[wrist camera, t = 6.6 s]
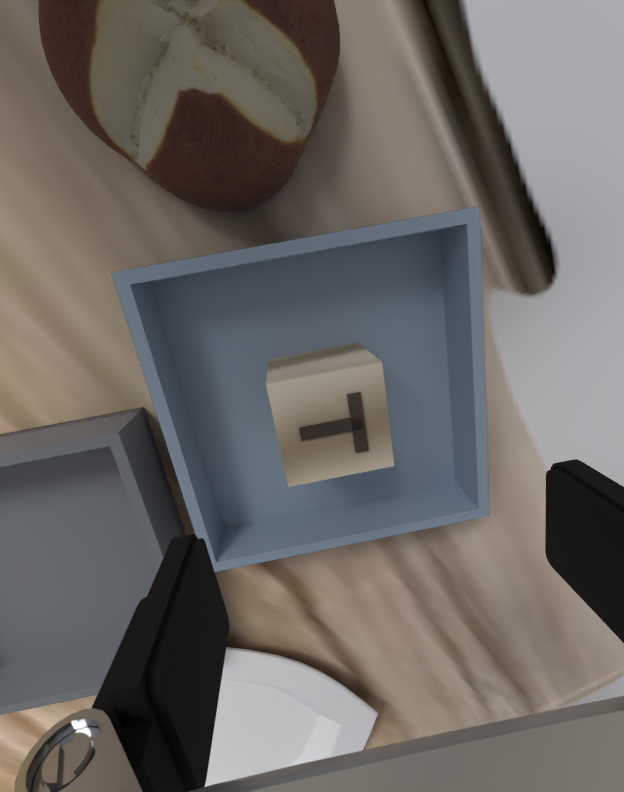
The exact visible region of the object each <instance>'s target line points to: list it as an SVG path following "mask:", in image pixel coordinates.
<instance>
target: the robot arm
mask: <svg viewBox="0 0 624 792" xmlns="http://www.w3.org/2000/svg"><path fill="white" fill-rule="evenodd" d="M546 557H547V559H548V561H549V563H550V565H551V566H552V567H553V568H554V570H555V571H556V572H557V573H558V574H559V575H560V576H561V577H562V578H563V579H564V580H565V581H566V582H567V583H568V584H569V585H570V586H571V588H572V589H573V590H574V591H575V592H576V593H577V594H578V595H579V596H580V597H581V598H582V599H583V600H584V601H585V602H586V603H587V605H588V606H589V607H590V608H591V609H592V610H593V611H594V612H595V613H596V614H597V615H598V616H599V617H600V618H601V619H602V620H603V621H604V623H605V624H606V625H607V626H608V627H609V628H610V629H611V630H612V631H613V632H614V633H615V634H616V635H617V636H618V637H619V638H620V640H621V641H622V642H623V643H624V487H623V486H621V485H619V484H618V483H616V482H614V481H613V480H611V479H609V478H608V477H606V476H605V475H603V474H601V473H600V472H598V471H596V470H594V469H593V468H591V467H590V466H588V465H586V464H585V463H583V462H581V461H579V460H570V461H565V462H559V463H555V464H553V465H552V467H551V470H549V471H547V473H546ZM228 633H229V620H228V615H227V612H226V608H225V605H224V602H223V598H222V595H221V592H220V589H219V585H218V582H217V579H216V576H215V572H214V569H213V566H212V562H211V559H210V556H209V553H208V549H207V546H206V543H205V540H204V539H203V538H200V539H198V538H197V536H196V535H195V534H191V535H186V536H180V537H175V538H173V539H172V540H171V541H170V544H169V546H168V548H167V551H166V553H165V555H164V558H163V560H162V562H161V565H160V567H159V569H158V572H157V574H156V576H155V579H154V581H153V583H152V586H151V588H150V590H149V593H148V595H147V597H144V598H143V599H142V600H140V602H139V604H138V605H137V607H136V610H135V612H134V614H133V616H132V619H131V621H130V623H129V625H128V628H127V630H126V632H125V634H124V637H123V639H122V641H121V643H120V646H119V648H118V650H117V652H116V655H115V657H114V659H113V661H112V664H111V666H110V668H109V670H108V673H107V675H106V677H105V679H104V682H103V684H102V686H101V688H100V691H99V693H98V695H97V697H96V700H95V702H94V704H93V706H92V709H84V710H81V711H78V712H76V713H73V714H71V715H69V716H67V717H66V718H64V719H63V720H61V721H60V722H58V723H57V724H55V725H54V726H53V727H52V728H51V729H50V730H49V731H47V732H46V733H45V734H44V735H43V736H42V737H41V738H40V739H39V741H38V742H37V743H36V744H35V745H34V747H33V748H32V749H31V750H30V752H29V753H28V755H27V757H26V758H25V760H24V762H23V763H22V765H21V767H20V769H19V772H18V775H17V778H16V781H15V790H14V792H624V696H621V697H616V698H611V699H606V700H601V701H596V702H592V703H586V704H581V705H576V706H571V707H566V708H562V709H557V710H552V711H547V712H542V713H538V714H533V715H528V716H523V717H518V718H514V719H509V720H504V721H499V722H494V723H490V724H485V725H480V726H475V727H470V728H466V729H461V730H456V731H451V732H447V733H442V734H437V735H432V736H428V737H423V738H418V739H414V740H409V741H404V742H400V743H395V744H390V745H386V746H381V747H376V748H372V749H367V750H363V751H358V752H353V753H349V754H344V755H339V756H335V757H330V758H325V759H321V760H316V761H312V762H307V763H302V764H298V765H293V766H289V767H285V768H281V769H276V770H272V771H268V772H264V773H259V774H255V775H251V776H247V777H243V778H238V779H234V780H230V781H226V782H222V783H217V784H213V785H210V786H206V787H205V783H206V778H207V772H208V765H209V759H210V752H211V745H212V739H213V732H214V726H215V719H216V712H217V706H218V699H219V693H220V686H221V679H222V673H223V666H224V660H225V653H226V646H227V640H228Z"/></svg>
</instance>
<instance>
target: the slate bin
mask: <svg viewBox="0 0 624 792" xmlns="http://www.w3.org/2000/svg"><path fill="white" fill-rule="evenodd" d="M112 277H113V280H114V283H115V286H116V289H117V292H118V295H119V298H120V301H121V305H122V308H123V311H124V314H125V317H126V320H127V323H128V326H129V329H130V333H131V336H132V339H133V342H134V345H135V348H136V351H137V354H138V357H139V361H140V364H141V367H142V370H143V373H144V376H145V379H146V382H147V385H148V389H149V392H150V395H151V398H152V401H153V404H154V407H155V410H156V413H157V417H158V420H159V423H160V426H161V429H162V432H163V435H164V438H165V441H166V445H167V448H168V451H169V454H170V457H171V460H172V463H173V466H174V469H175V473H176V476H177V479H178V482H179V485H180V488H181V491H182V494H183V497H184V501H185V504H186V507H187V510H188V513H189V516H190V519H191V522H192V525H193V529H194V532H195V535H196V536H197V538H198V539H200V538H203V539H204V540H205V543H206V546H207V549H208V553H209V556H210V559H211V562H212V566H213V569H214V572H218V571H223V570H228V569H233V568H237V567H242V566H247V565H252V564H257V563H262V562H267V561H272V560H277V559H282V558H286V557H291V556H296V555H301V554H306V553H311V552H316V551H321V550H326V549H331V548H335V547H340V546H345V545H350V544H355V543H360V542H365V541H370V540H375V539H380V538H384V537H389V536H394V535H399V534H404V533H409V532H414V531H419V530H424V529H429V528H433V527H438V526H443V525H448V524H453V523H458V522H463V521H468V520H473V519H478V518H482V517H487V516H490V512H489V480H488V448H487V416H486V384H485V352H484V320H483V288H482V257H481V225H480V206H479V207H474V208H468V209H462V210H457V211H451V212H446V213H440V214H435V215H429V216H423V217H418V218H412V219H407V220H401V221H396V222H390V223H384V224H379V225H373V226H368V227H362V228H357V229H351V230H346V231H340V232H334V233H329V234H323V235H318V236H312V237H307V238H301V239H295V240H290V241H284V242H279V243H273V244H268V245H262V246H256V247H251V248H245V249H240V250H234V251H229V252H223V253H217V254H212V255H206V256H201V257H195V258H190V259H184V260H178V261H173V262H167V263H162V264H156V265H151V266H145V267H139V268H134V269H128V270H123V271H117V272H112ZM358 342H359V343H360V344H361V345H362V346H363V347H365V348H366V349H367V350H368V351H369V352H370V353H372V354H373V355H374V356H375V357H376V358H378V359H379V360H380V361H381V362H382V365H383V374H384V382H385V391H386V399H387V408H388V416H389V425H390V433H391V442H392V450H393V459H394V466H392V467H387V468H382V469H377V470H372V471H366V472H361V473H356V474H351V475H346V476H341V477H336V478H331V479H326V480H321V481H316V482H311V483H306V484H301V485H296V486H291V487H288V483H287V478H286V474H285V469H284V464H283V460H282V455H281V451H280V446H279V442H278V437H277V433H276V428H275V423H274V419H273V414H272V410H271V405H270V401H269V396H268V392H267V387H266V379H267V369H268V359H273V358H278V357H283V356H289V355H294V354H299V353H304V352H310V351H315V350H320V349H326V348H331V347H336V346H342V345H347V344H352V343H358Z"/></svg>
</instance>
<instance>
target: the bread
mask: <svg viewBox="0 0 624 792" xmlns="http://www.w3.org/2000/svg"><path fill="white" fill-rule="evenodd" d="M39 25H40V33H41V41H42V45H43V48H44V52H45V56H46V59H47V62H48V65H49V67H50V70H51V72H52V75H53V77H54V79H55V81H56V83H57V85H58V87H59V89H60V91H61V92H62V94H63V95H64V97H65V99H66V100H67V102H68V103H69V105H70V106H71V108H72V109H73V110H74V112H75V113H76V114H77V115H78V116H79V118H80V119H81V120H82V121H83V122H84V123H85V124H86V126H87V127H88V128H89V129H90V130H91V131H92V132H93V133H94V134H95V135H97V136H98V137H99V138H100V139H101V140H102V141H103V142H105V143H106V144H107V145H108V146H109V147H111V148H112V149H114V150H115V151H117V152H118V153H119V154H121V155H122V156H124V157H125V158H127V159H128V160H130V161H131V162H133V163H135V164H136V165H138V166H139V167H141V168H142V169H143V170H144V171H145V172H146V173H147V174H148V175H149V176H150V177H151V178H152V179H153V180H154V181H155V182H156V183H158V184H159V185H161V186H162V187H163V188H165V189H166V190H167V191H169V192H171V193H172V194H174V195H175V196H177V197H179V198H180V199H182V200H184V201H186V202H188V203H190V204H195V205H196V206H199V207H202V208H206V209H209V210H215V211H238V210H243V209H246V208H250V207H253V206H255V205H257V204H259V203H261V202H263V201H265V200H266V199H268V198H270V197H271V196H272V195H273V194H275V193H276V192H277V191H278V190H280V189H281V188H282V187H283V186H284V184H285V183H286V182H287V181H288V179H289V177H290V176H291V174H292V172H293V171H294V169H295V167H296V165H297V163H298V161H299V158H300V156H301V154H302V152H303V147H304V145H305V143H306V141H307V139H308V138H309V136H310V134H311V132H312V131H313V129H314V127H315V126H316V123H317V121H318V119H319V117H320V115H321V113H322V110H323V108H324V105H325V102H326V99H327V96H328V94H329V91H330V88H331V85H332V82H333V79H334V76H335V72H336V68H337V64H338V59H339V52H340V33H339V24H338V19H337V13H336V8H335V3H334V0H39Z"/></svg>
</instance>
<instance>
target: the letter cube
mask: <svg viewBox="0 0 624 792" xmlns="http://www.w3.org/2000/svg"><path fill="white" fill-rule="evenodd" d="M266 387H267V392H268V396H269V401H270V405H271V410H272V414H273V419H274V423H275V428H276V433H277V437H278V442H279V446H280V451H281V455H282V460H283V464H284V469H285V474H286V478H287V483H288V487H291V486H296V485H301V484H306V483H311V482H316V481H321V480H326V479H331V478H336V477H341V476H346V475H351V474H356V473H361V472H366V471H372V470H377V469H382V468H387V467H392V466H394V459H393V450H392V442H391V433H390V425H389V416H388V408H387V399H386V391H385V382H384V374H383V365H382V362H381V361H380V360H379V359H378V358H376V357H375V356H374V355H373V354H372V353H370V352H369V351H368V350H367V349H366V348H365V347H363V346H362V345H361V344H360V343H359V342H358V343H352V344H347V345H342V346H336V347H331V348H326V349H320V350H315V351H310V352H304V353H299V354H294V355H289V356H283V357H278V358H273V359H268V369H267V379H266Z"/></svg>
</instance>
